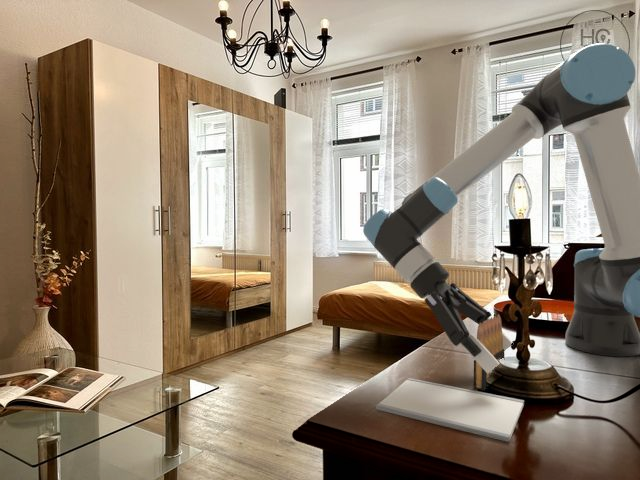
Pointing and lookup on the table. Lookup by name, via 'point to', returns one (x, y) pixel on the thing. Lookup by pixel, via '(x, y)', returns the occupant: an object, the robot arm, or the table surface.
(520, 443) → the table surface
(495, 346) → the ammunition clip
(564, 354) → the table surface
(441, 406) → the white flat rectangular board
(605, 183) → the robot arm
